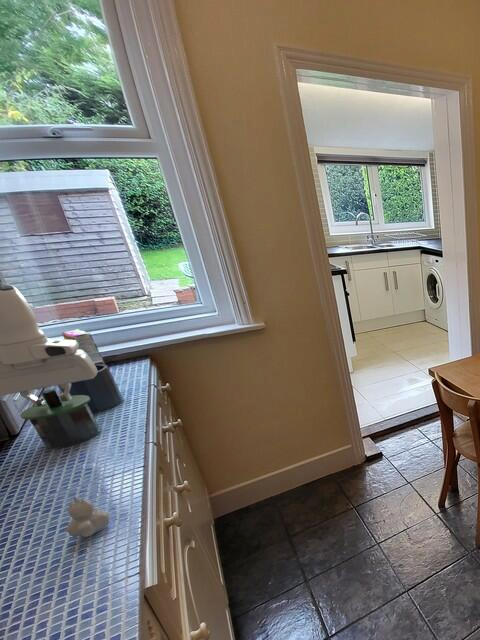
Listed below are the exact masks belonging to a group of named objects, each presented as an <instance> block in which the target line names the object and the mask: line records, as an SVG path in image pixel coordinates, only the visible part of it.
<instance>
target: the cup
mask: <svg viewBox="0 0 480 640" xmlns="http://www.w3.org/2000/svg"><path fill="white" fill-rule="evenodd" d="M29 421H30V423H31V425H32V426H33V428H34V430H35V432H36V433H37V435H38V437H39V438H40V440H41V441H42V443H43V445H44V446H45V447H46V448H47V449H48V450H58V449H64V448H69V447H72V446H73V447H74V446H75V445H79V444H81V443H84V442H87V441H89V440H91V439H93V438H95V437H96V436H98V434H100V433H101V427H100V425H99V423H98V422H97V419H96V418H95V415H94V413H93V414H92V412H91V410H90V408H89V406H88V405H87V404H85V405H83V406H81V407H79V408H77V409H75V410H72V411H69V412H66V413H63V414H60V415H56V416H52V417H47V418H41V419H32V420H29Z"/></svg>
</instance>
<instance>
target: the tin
mask: <svg viewBox="0 0 480 640" xmlns="http://www.w3.org/2000/svg"><path fill="white" fill-rule="evenodd" d="M95 366H96V368H97V370H98V373H97V375H96V376H95V377H94V378H93V379H88V380H83V381H78V382H72V383H71V388H70V391H69V393H70V395H71V396H74V395H86V396H89V398H90V401H89V402H88V403H87V405H88V406H89V408H90V410H91V412H92V414H93V415H94V414H97V413H102V412H105V411H108V410H110V409H113V408H115V407H118V406H119V405H120V404H122V403H123V402H124V397H123V396H122V393H121V391H120V389H119V387H118V385H117V383H116V380H115V378H114V377H113V374H112V373H111V370H110V368H109V366H108V365H95ZM57 387H58V389H59V390H60V392H61V393H64V390H65V388H63V389H62V388H61V387H60V385H57Z"/></svg>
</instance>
